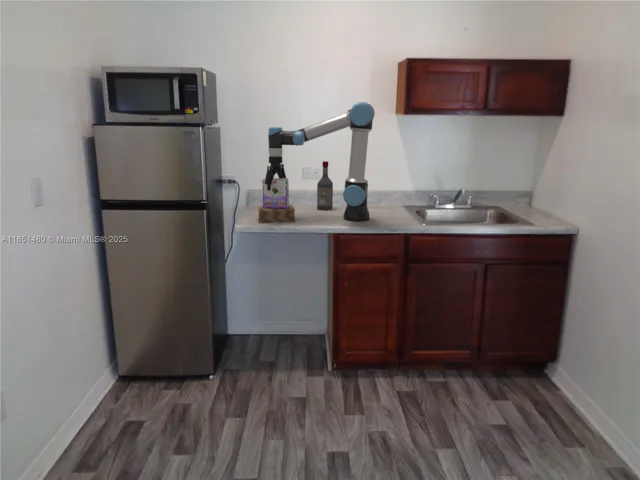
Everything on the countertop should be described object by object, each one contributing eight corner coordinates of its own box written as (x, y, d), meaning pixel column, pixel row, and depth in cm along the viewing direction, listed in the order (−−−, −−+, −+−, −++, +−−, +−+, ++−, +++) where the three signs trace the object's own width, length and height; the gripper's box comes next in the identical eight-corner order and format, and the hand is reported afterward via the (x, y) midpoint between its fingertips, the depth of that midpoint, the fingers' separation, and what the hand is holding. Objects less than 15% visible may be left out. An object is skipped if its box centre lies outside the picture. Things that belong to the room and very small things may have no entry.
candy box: (289, 207, 274) (288, 178, 270) (286, 209, 269) (286, 179, 264) (265, 206, 277) (265, 177, 272) (262, 208, 271) (262, 178, 267)
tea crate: (292, 217, 283) (292, 205, 281) (295, 222, 269) (295, 209, 267) (258, 218, 280) (258, 205, 278) (258, 223, 266) (258, 210, 264)
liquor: (330, 210, 302) (331, 162, 295) (316, 210, 304) (316, 162, 296) (332, 208, 311) (333, 161, 304) (318, 207, 313) (319, 160, 305)
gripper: (280, 154, 277) (281, 191, 283) (257, 157, 256) (258, 197, 262) (292, 154, 274) (292, 192, 280) (269, 157, 253) (270, 198, 258)
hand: (275, 194), depth 271 cm, fingers open, 12 cm apart
